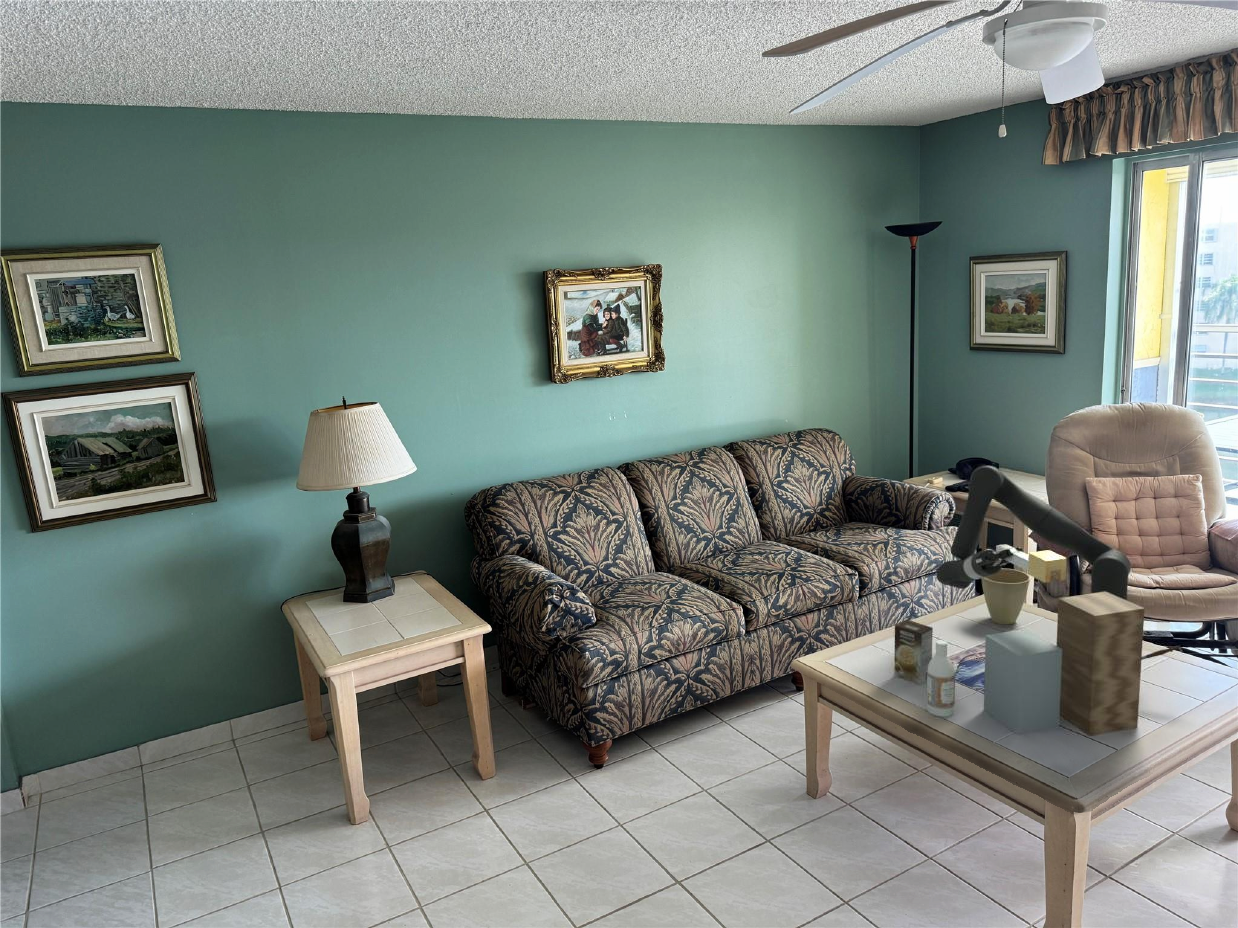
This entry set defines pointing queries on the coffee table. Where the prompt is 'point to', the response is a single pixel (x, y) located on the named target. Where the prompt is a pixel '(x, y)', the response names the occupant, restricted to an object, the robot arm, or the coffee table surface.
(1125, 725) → the tall stand
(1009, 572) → the plant pot
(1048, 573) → the wood and metal block
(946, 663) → the bath foam
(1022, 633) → the blue gray block
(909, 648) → the coffee box
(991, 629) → the coffee table surface
